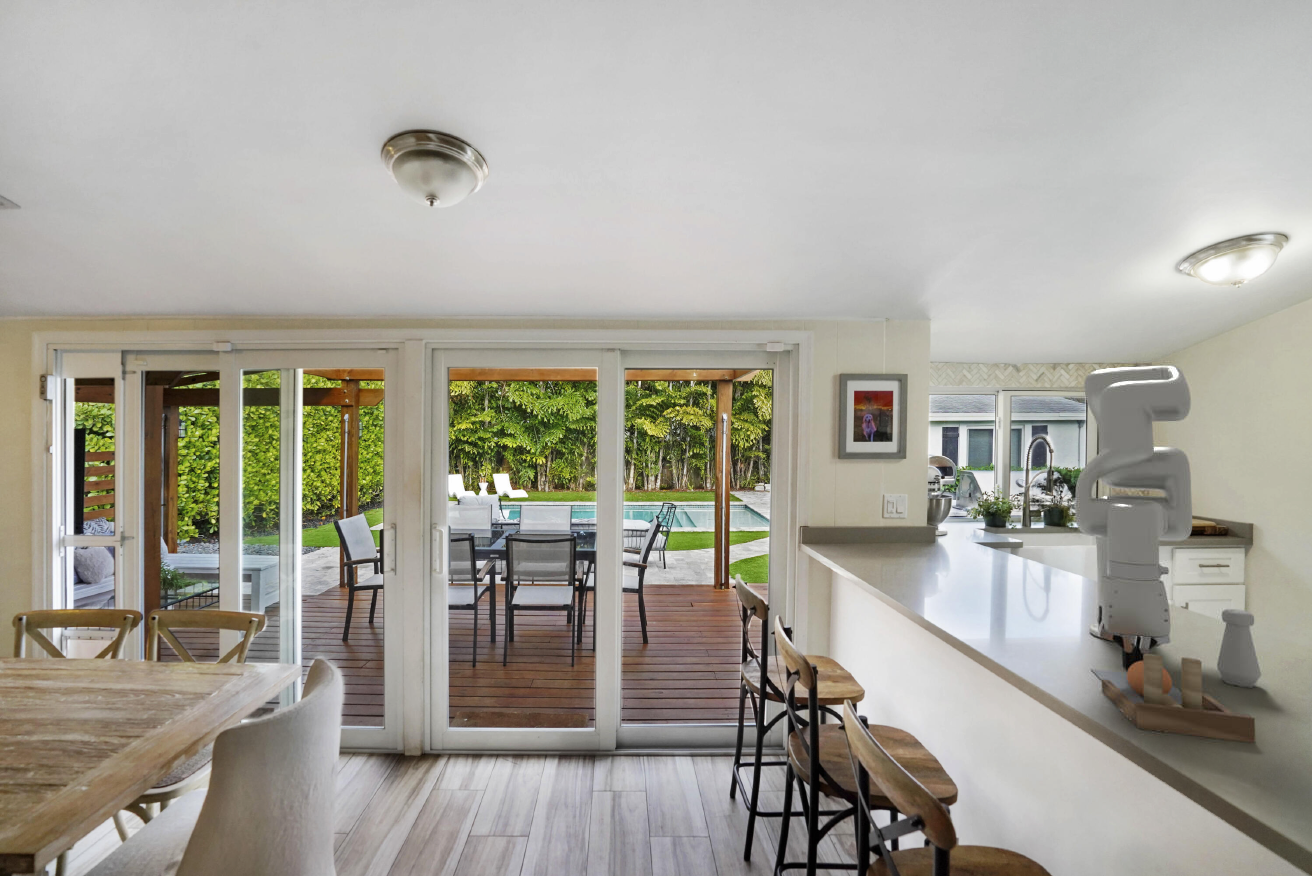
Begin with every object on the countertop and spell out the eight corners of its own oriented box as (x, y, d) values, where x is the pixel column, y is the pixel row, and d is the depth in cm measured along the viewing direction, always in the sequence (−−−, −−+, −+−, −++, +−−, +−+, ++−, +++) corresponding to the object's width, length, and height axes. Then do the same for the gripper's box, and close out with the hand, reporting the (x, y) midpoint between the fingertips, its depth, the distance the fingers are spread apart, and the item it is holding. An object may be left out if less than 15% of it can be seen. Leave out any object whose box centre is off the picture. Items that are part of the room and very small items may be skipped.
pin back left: (1179, 713, 100) (1178, 656, 100) (1197, 715, 99) (1196, 658, 99) (1186, 719, 98) (1185, 661, 98) (1205, 722, 97) (1204, 663, 97)
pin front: (1156, 692, 102) (1181, 714, 94) (1173, 695, 101) (1201, 718, 93) (1154, 706, 102) (1180, 730, 94) (1172, 710, 102) (1199, 734, 93)
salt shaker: (1269, 690, 109) (1268, 615, 109) (1231, 688, 110) (1230, 614, 111) (1245, 678, 115) (1244, 607, 115) (1209, 676, 116) (1208, 605, 116)
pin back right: (1141, 709, 101) (1140, 653, 102) (1159, 711, 101) (1158, 655, 101) (1147, 715, 99) (1146, 658, 99) (1165, 717, 98) (1165, 659, 98)
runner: (1090, 670, 119) (1090, 669, 119) (1160, 677, 116) (1160, 676, 116) (1148, 728, 94) (1148, 727, 94) (1239, 739, 91) (1239, 738, 91)
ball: (1133, 670, 104) (1134, 704, 105) (1177, 672, 102) (1178, 707, 103) (1121, 653, 110) (1122, 686, 110) (1162, 655, 108) (1164, 688, 108)
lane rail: (1102, 690, 109) (1101, 670, 109) (1200, 701, 105) (1200, 680, 105) (1138, 728, 94) (1138, 705, 94) (1254, 742, 90) (1254, 718, 90)
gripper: (1173, 570, 115) (1174, 671, 115) (1078, 565, 120) (1079, 661, 120) (1193, 578, 108) (1194, 685, 108) (1091, 572, 113) (1092, 675, 112)
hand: (1133, 672), depth 114 cm, fingers closed
